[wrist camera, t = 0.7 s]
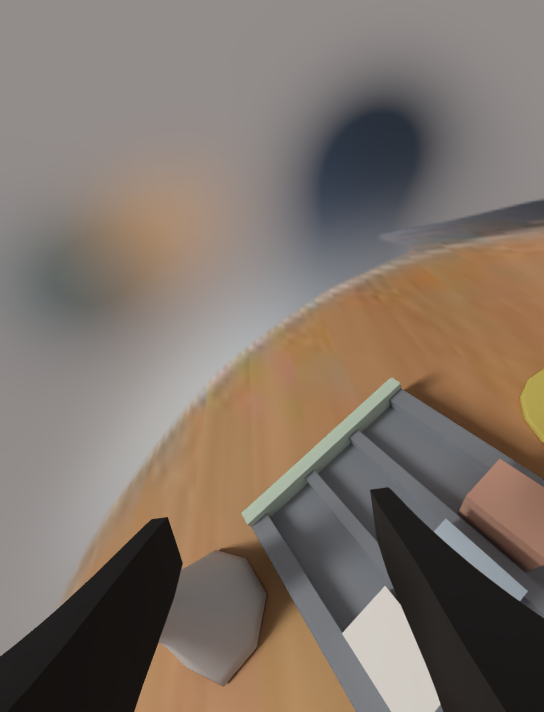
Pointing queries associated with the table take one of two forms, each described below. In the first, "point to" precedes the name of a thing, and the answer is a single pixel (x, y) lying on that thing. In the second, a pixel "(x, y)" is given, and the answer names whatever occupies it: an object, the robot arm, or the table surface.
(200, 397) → the table surface
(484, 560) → the pale blue tilted box
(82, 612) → the robot arm
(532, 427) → the candle
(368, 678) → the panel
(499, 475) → the clay pink cube
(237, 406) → the table surface
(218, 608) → the flask
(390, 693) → the pale grey square block
